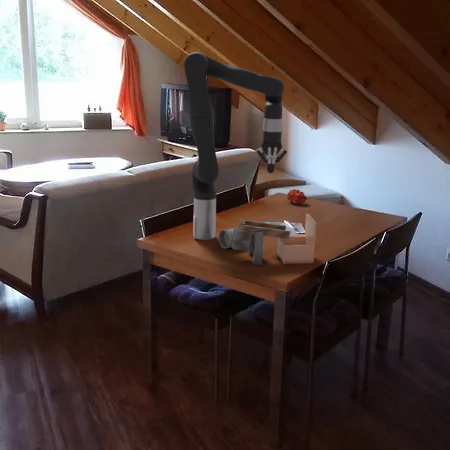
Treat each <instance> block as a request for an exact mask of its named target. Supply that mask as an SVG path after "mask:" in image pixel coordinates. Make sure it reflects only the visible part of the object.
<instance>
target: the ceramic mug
mask: <svg viewBox="0 0 450 450" xmlns="http://www.w3.org/2000/svg"><path fill="white" fill-rule="evenodd" d="M233 230H234V228H227V229H220V231H219V234H218V243H219V245H220V247H221V248H222V249H224V250H225V249H231V248H232V245H231V241H232V236H233Z"/></svg>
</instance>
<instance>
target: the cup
mask: <svg viewBox="0 0 450 450" xmlns="http://www.w3.org/2000/svg"><path fill="white" fill-rule="evenodd" d="M316 233H317V221H315V219H314V218H313V217H312V216H311V215H310V214H309V213H306V214H305V226H304V235H290V236H289V239H285V238H278V237H277V243H276V254H277V256H278V258H279V259H280V261H281V263H282V264H283V265H284V264H286V265H287V264H289V265H291V264H292V265H293V264H314V261H315V260H314V259H315V246H316V236H317V235H316Z"/></svg>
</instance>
